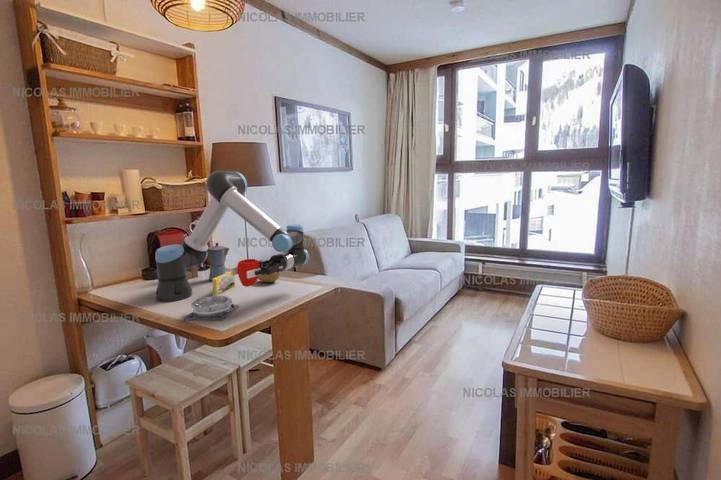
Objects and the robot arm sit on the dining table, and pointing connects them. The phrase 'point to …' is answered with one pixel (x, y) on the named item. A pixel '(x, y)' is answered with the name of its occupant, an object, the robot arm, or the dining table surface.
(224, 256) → the moka pot
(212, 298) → the rosette stand
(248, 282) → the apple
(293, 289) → the dining table surface
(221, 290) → the candy box
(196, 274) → the wooden block
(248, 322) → the dining table surface
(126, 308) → the dining table surface
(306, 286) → the dining table surface
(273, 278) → the potato
